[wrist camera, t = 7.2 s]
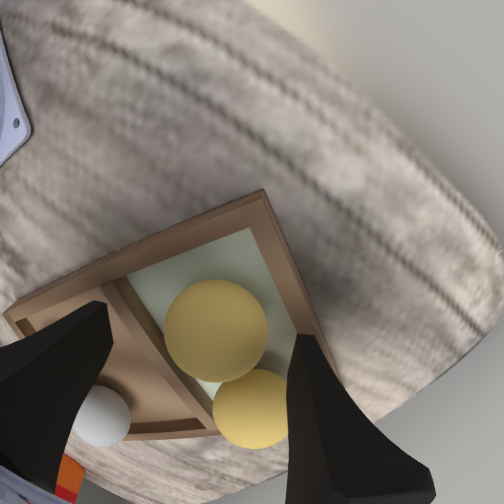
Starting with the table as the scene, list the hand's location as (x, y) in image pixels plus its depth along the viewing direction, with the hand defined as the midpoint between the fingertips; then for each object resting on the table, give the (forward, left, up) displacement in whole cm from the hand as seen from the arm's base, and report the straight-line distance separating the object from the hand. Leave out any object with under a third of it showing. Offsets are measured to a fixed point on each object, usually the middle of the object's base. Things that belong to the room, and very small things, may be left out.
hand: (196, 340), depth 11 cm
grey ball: (+5, -10, -3) cm, 11 cm away
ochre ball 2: (+5, 0, -3) cm, 6 cm away
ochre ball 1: (0, 0, -3) cm, 3 cm away
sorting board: (+2, -5, -3) cm, 6 cm away
